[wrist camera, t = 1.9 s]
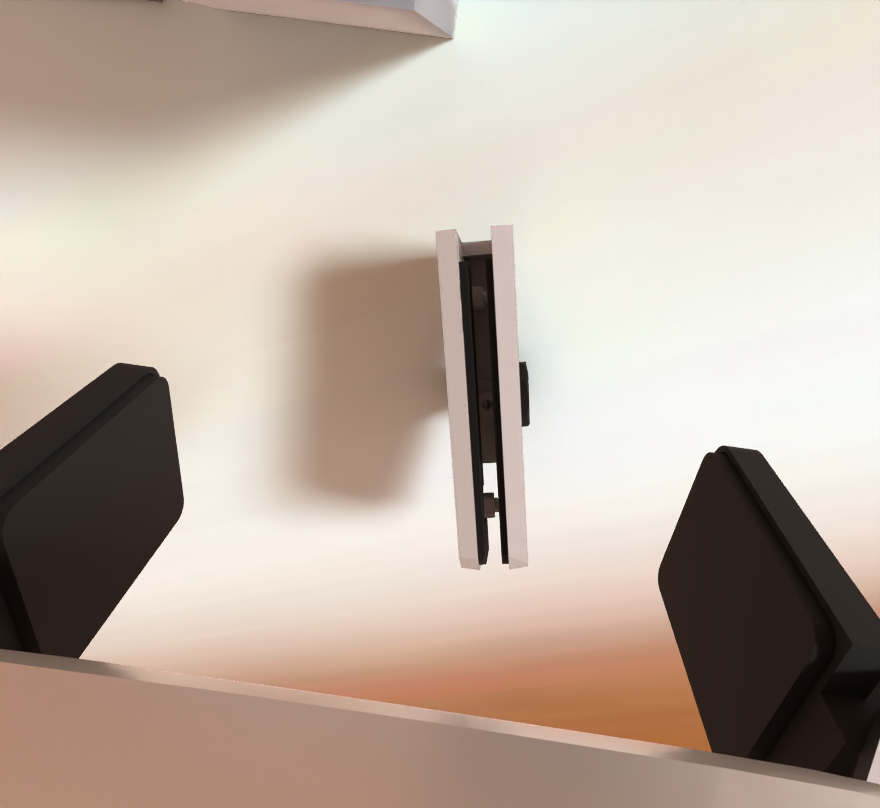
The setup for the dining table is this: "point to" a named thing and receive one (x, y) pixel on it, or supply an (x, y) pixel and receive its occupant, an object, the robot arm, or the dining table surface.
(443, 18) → the cabinet
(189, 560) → the dining table surface
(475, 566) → the grey plank with wheel
